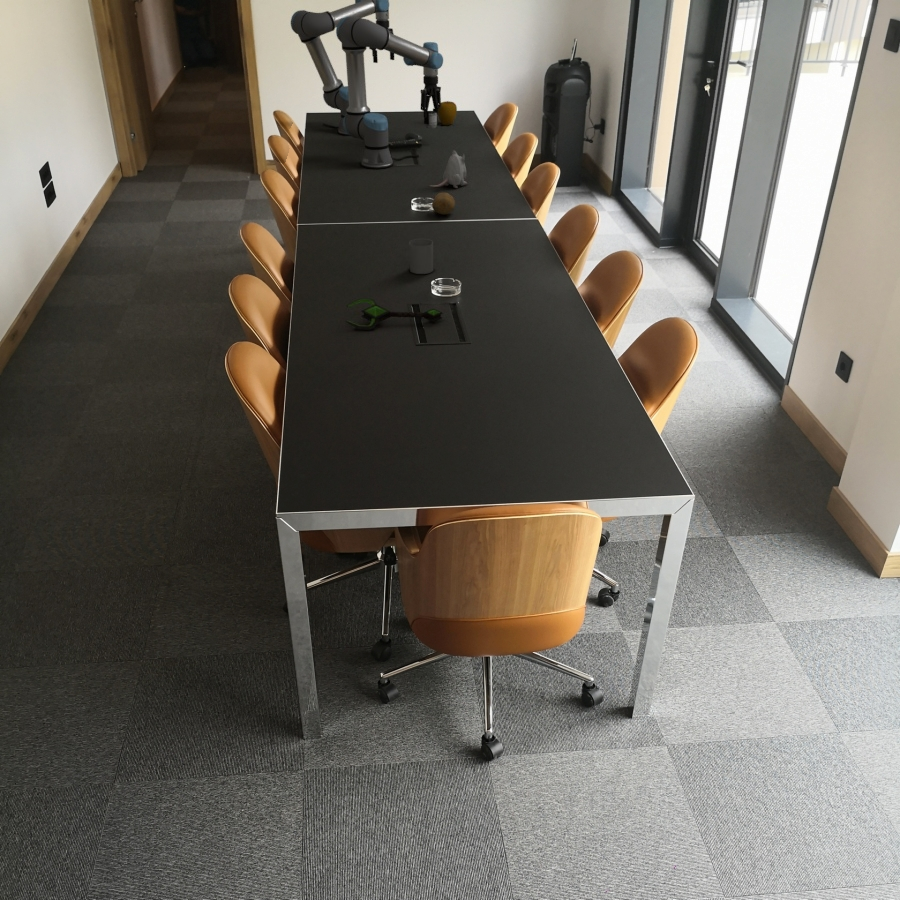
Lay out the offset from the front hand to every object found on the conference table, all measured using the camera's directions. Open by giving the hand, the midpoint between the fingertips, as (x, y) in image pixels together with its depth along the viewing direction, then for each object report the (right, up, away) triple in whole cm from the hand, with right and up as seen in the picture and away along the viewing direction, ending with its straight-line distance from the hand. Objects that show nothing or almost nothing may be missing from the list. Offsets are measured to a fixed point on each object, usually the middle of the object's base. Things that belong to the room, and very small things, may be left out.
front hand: (430, 122), depth 455 cm
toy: (+9, -53, -61) cm, 81 cm away
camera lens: (0, -2, +1) cm, 2 cm away
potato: (+7, -73, -93) cm, 118 cm away
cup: (0, -108, -147) cm, 182 cm away
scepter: (-7, -132, -185) cm, 227 cm away
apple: (+9, +17, +48) cm, 52 cm away
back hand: (-28, +50, +38) cm, 69 cm away
